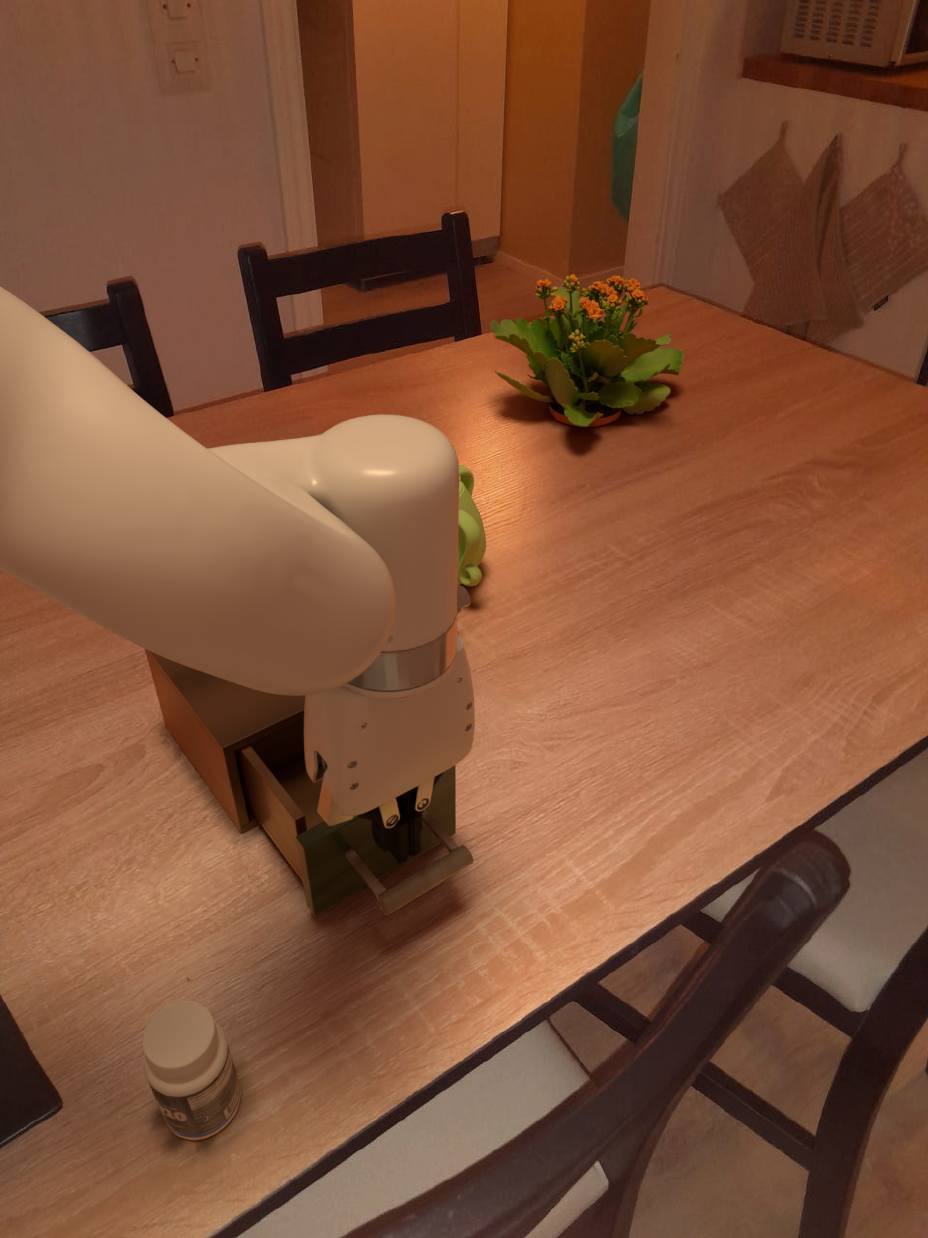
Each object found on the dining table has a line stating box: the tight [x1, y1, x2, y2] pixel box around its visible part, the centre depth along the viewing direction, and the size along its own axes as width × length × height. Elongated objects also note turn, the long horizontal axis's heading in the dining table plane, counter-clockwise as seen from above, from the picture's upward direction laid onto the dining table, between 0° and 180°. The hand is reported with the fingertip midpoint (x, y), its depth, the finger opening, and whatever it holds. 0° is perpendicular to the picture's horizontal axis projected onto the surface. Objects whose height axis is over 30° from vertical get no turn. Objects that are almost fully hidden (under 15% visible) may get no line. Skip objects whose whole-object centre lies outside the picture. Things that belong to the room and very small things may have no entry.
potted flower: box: [489, 273, 684, 428], centre depth 125 cm, size 25×24×18 cm
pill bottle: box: [141, 999, 242, 1141], centre depth 57 cm, size 5×5×8 cm
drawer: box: [234, 718, 474, 917], centre depth 71 cm, size 19×12×8 cm, turn 37°
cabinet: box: [144, 648, 305, 834], centre depth 80 cm, size 15×14×10 cm
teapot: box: [457, 464, 487, 587], centre depth 97 cm, size 16×14×13 cm
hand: (397, 844), depth 66 cm, fingers closed
